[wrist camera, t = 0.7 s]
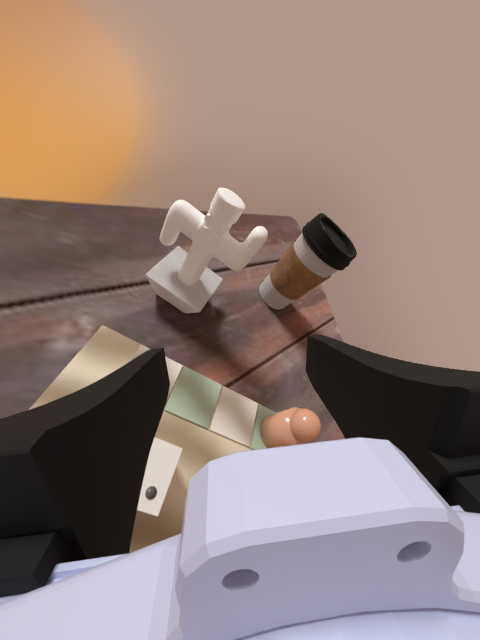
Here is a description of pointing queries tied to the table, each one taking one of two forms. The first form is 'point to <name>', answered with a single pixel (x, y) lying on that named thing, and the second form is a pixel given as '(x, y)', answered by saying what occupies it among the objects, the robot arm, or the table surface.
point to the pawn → (290, 428)
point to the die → (158, 475)
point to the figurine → (201, 250)
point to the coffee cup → (308, 262)
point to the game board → (170, 422)
